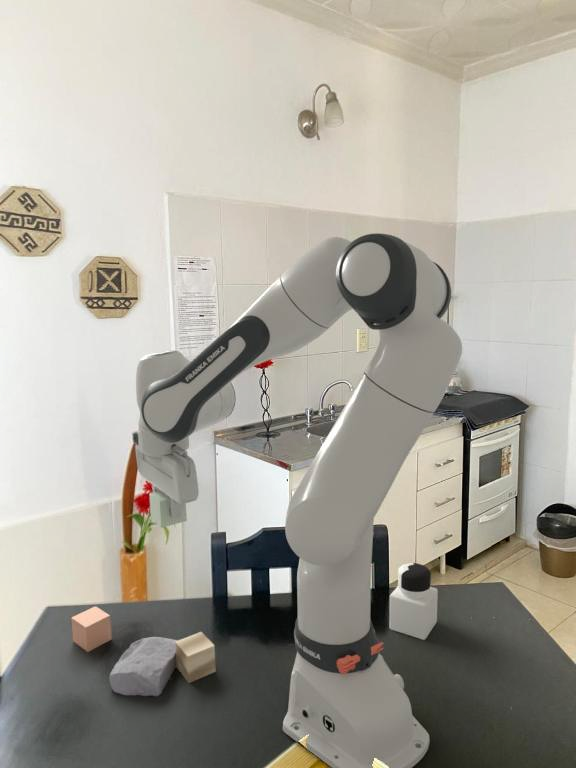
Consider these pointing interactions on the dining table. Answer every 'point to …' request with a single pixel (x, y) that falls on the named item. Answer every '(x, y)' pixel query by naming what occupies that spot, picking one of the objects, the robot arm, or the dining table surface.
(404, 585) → the medicine bottle
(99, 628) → the terracotta cube
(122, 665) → the stone block
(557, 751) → the dining table surface
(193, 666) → the birch cube
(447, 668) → the dining table surface
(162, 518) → the sage cube
